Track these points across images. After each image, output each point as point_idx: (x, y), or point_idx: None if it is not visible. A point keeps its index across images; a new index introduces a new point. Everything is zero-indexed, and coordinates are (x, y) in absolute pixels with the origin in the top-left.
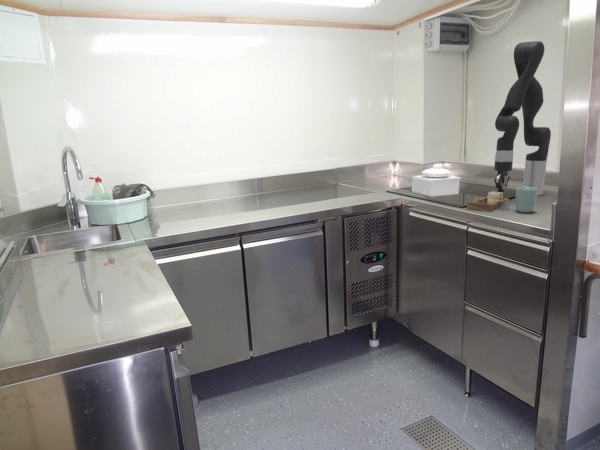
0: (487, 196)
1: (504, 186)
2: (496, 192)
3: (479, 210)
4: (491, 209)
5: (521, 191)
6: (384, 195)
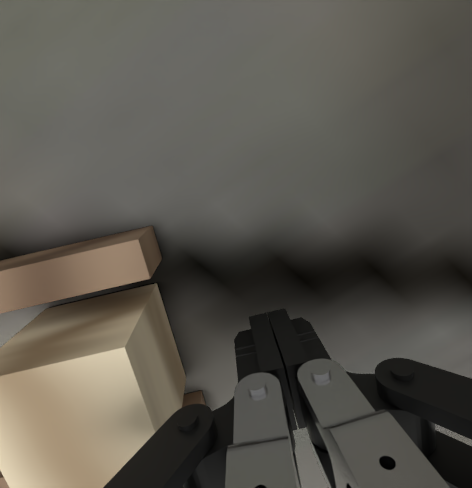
0: (131, 255)
1: (328, 473)
2: (92, 435)
3: None
4: None
5: None
6: None
